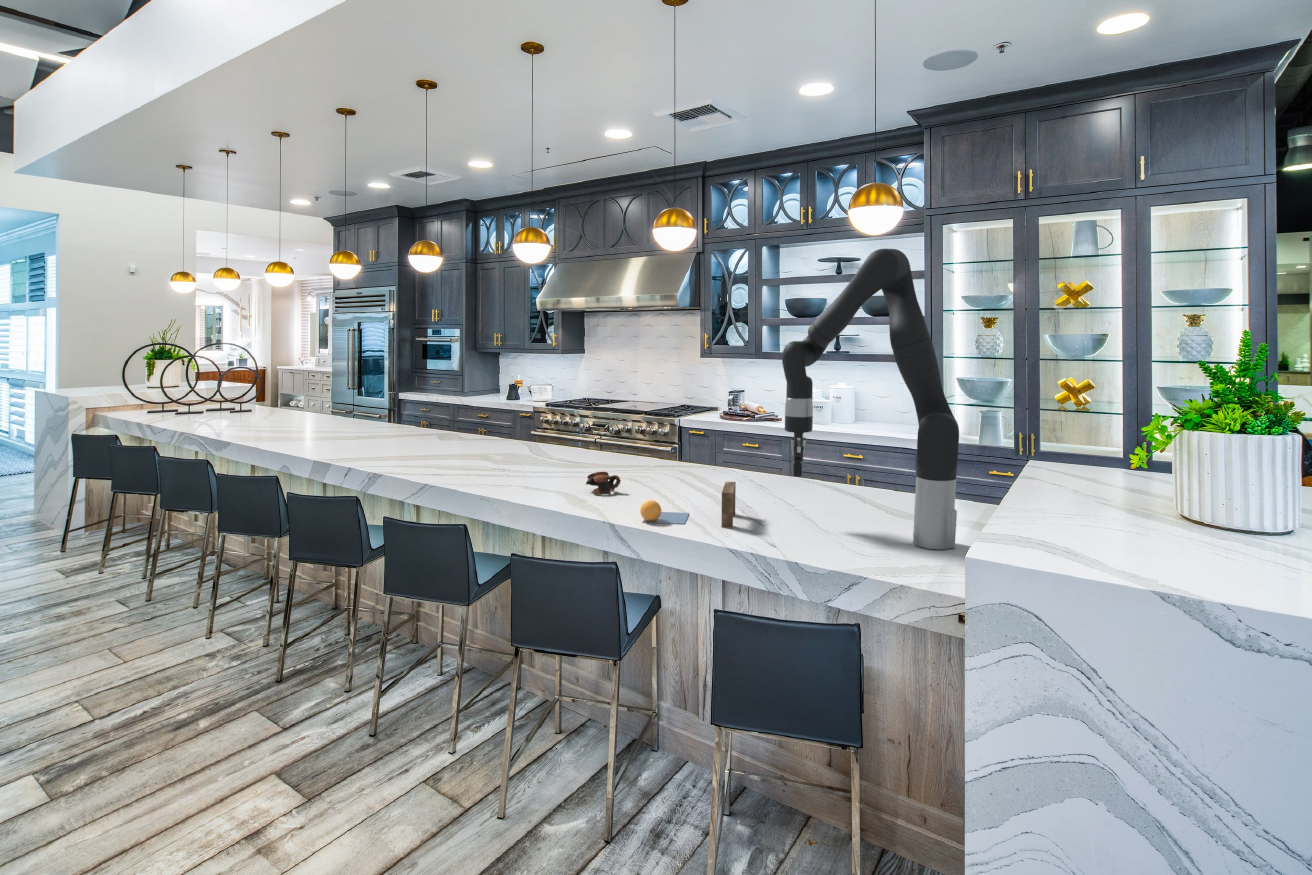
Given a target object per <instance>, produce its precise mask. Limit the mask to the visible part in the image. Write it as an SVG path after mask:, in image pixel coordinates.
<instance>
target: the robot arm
mask: <svg viewBox="0 0 1312 875" xmlns="http://www.w3.org/2000/svg"><path fill="white" fill-rule="evenodd" d="M912 274H913V273H912V269H911V263H910V261H909V259H908V257H907V255H906V254H905V253H904V252H903V251H901V250H899V249H896V248H879V249H876V250H874V251H873V252H871V253H870V254H869V255H868V256H867V258H866V259H864V261H863V263H862V265H861V266H860V267H859V268H858V270H857V272H856V273H855V275H853V277H852V279H851V280H850V281H849V282H848V284H847V285H846V287H845V288H844V289H843V290H842V291H841V293H840V294H839V295H838V296H837V297H836V298H835V299H834V300H833V301H832V302H831V304H829V305H828V306H827V307H826V308H825V310H824V311H823V312H821V313H820V314H819V315H818V317H817V318H815V320H814V321H813V322H812V323H811V324H810V326H809V327H808V329H807V333H808V334H807V336H806V337H805V338H804V339H803V340H797V341H796V340H795V341H790V342H788V343H787V344H786V345H785V346H784V348H783V350H782V353H781V362H782V363H781V364H782V367H783V373H784V377H785V381H786V394H785V395H786V396H785V397H786V399H785V403H784V405H785V406H784V431H785V432H788V433H793V436H791V437H790V444H791V454H792V464H793V468H792V469H793V474H792V475H793V476H794V477H796V478H797V477H802V470H803V469H802V467H803V462H804V455H805V452H806V448H805V447H806V445H807V440H806V437H804V433H810V432H812V431H813V423H814V422H813V421H814V420H813V418H814V403H813V380H812V378H811V377H810V376H808V375H807V370H806V367H807V368H808V367H810V366H812V365H814V364H815V363H816V362H818V360H819V359H820V358H821V356H822V355H823V353H824V352H825V351H826V350H827V348H828V346H829V344H831V342H832V341H833V340H835V339H836V338H837V337H838V336H839V335H840V334H841V333H842V332H843V331H844V330H845V329H846V327H847V326H848V325H849V324H850V323H851V322H852V319H853V318H854V317H855V315H856V314H857V312H859V311H860V308H861V307H862V306H863V305H864V304H865V303H866V302H867V301H868V300H869V299H870V298H872V297H873V296H874V295H875V294H877V293H878V292H879V291H881V292H882V294H883V297H884V299H885V302H886V306H887V309H888V315H889V316H888V319H889V320H888V322H889V325H888V326H889V342H890V347H891V350H892V353H893V356H894V360H895V362H896V365H897V368H898V371H899V373H900V375H901V377H902V380H903V381H904V383H905V385H906V387H907V389H908V390H909V393H910V395H911V398H912V400H913V403H914V404H913V405H914V407H915V412H916V417H917V421H918V422H917V423H918V429H917V438H916V440H917V442H916V463H915V464H916V465H915V466H916V471H915V472H916V473H915V474H916V475H915V476H916V477H915V492H914V493H915V495H914V496H915V497H914V498H915V499H914V510H913V511H914V513H913V515H914V516H913V533H912V544H913V545H915V546H916V547H919V548H923V549H928V550H949V549H955V548H956V537H957V536H956V534H957V533H956V532H957V518H958V515H957V514H958V511H957V510H956V506H955V505H956V504H955V503H956V490H957V473H958V462H959V461H958V460H959V459H958V458H959V444H960V442H959V441H960V427H959V424H958V421H957V419H956V418H955V416H954V413H953V411H952V410H951V407H950V405H949V403H948V400H947V397H946V395H945V392H944V389H943V385H942V380H941V374H940V368H939V363H938V359H937V355H936V350H935V347H934V344H933V341H932V338H931V335H930V332H929V330H928V327H927V323H926V319H925V317H924V314H923V312H922V309H921V307H920V304H919V301H918V297H917V294H916V289H915V286H914V285H915V284H914V280H913V279H914V278H913V275H912Z"/></svg>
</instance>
